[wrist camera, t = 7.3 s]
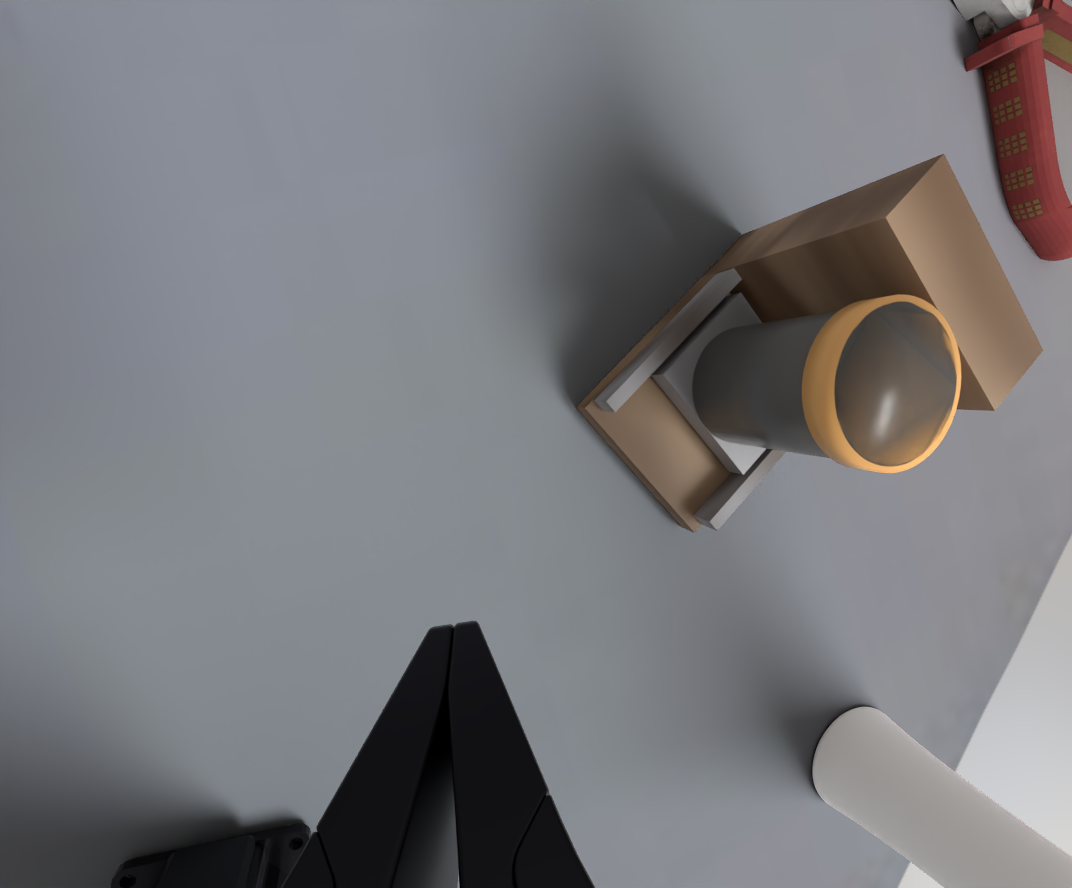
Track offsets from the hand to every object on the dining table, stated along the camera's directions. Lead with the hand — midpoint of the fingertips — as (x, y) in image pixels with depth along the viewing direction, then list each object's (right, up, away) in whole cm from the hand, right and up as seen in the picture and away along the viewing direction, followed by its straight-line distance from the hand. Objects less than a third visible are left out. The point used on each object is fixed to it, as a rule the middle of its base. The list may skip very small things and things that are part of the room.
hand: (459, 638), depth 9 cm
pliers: (+29, +25, +21) cm, 43 cm away
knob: (+10, +6, +14) cm, 18 cm away
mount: (+10, +7, +16) cm, 20 cm away
